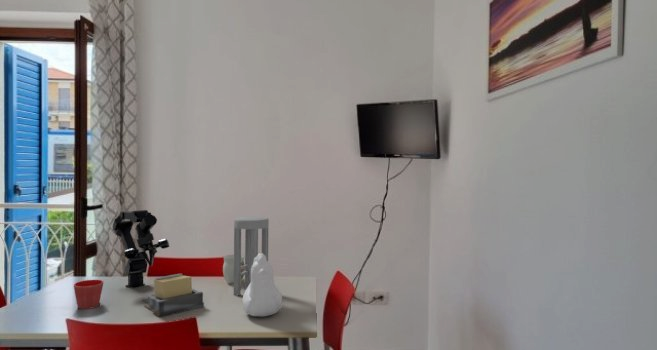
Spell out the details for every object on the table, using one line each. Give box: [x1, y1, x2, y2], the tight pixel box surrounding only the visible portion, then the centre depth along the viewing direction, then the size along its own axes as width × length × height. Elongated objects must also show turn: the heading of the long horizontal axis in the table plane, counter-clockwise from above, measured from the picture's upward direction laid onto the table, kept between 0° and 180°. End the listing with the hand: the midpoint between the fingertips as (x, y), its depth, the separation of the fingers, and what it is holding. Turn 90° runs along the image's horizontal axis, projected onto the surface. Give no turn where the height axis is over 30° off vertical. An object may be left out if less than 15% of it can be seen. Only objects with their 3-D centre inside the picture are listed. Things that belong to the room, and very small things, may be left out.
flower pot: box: [73, 279, 104, 310], centre depth 174 cm, size 11×11×10 cm
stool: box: [233, 216, 270, 297], centre depth 194 cm, size 16×16×35 cm
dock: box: [141, 288, 205, 318], centre depth 179 cm, size 29×19×7 cm, turn 45°
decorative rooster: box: [242, 252, 283, 317], centre depth 170 cm, size 25×16×25 cm, turn 3°
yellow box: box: [153, 273, 193, 300], centre depth 174 cm, size 10×12×10 cm
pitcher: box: [222, 254, 245, 285], centre depth 213 cm, size 11×18×14 cm, turn 174°
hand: (151, 266), depth 190 cm, fingers closed
